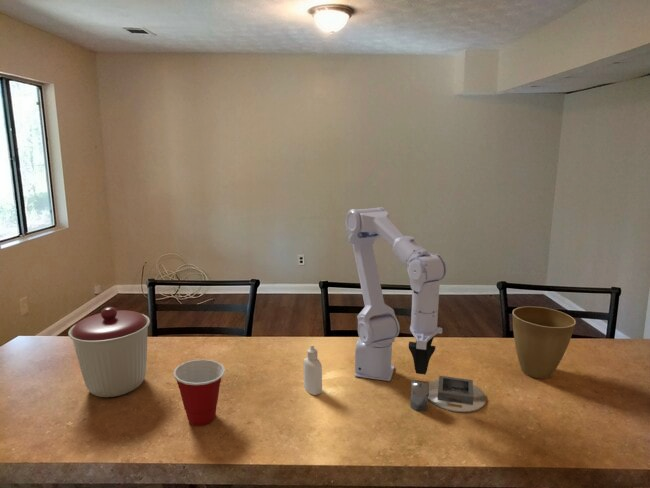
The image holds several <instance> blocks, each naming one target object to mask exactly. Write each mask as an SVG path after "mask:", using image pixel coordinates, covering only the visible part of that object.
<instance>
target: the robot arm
mask: <svg viewBox="0 0 650 488" xmlns="http://www.w3.org/2000/svg"><path fill="white" fill-rule="evenodd" d="M390 219H391V218H390V213H389V212H388V211H387V210H386V208H384V207H382V206H378V207H374V208H371V207H370V208H359V209H355V208H351V209H349V211H348V212H347V214H346V217H345V222H344V224H345V229H346V233H347V238H348V242H349V243H351V245H352V250H353V254H354V255H353V256H354V260H355V266H356V270H357V274H358V278H359V280H358V281H359V283H360V289H361V294H362V298H363V303H364V307H363V308H362V309H361V311H360V312H359V313H358V315H357V316H356V318H357V334H358V337H359V338H358V339H357V341H356V345H355V356H354V357H355V358H354V359H355V360H354V361H355V362H354V365H355V366H354V376H355V377H358V378H366V379H372V380H377V381H378V380H379V381H387V382H391V380H392V377H393V373H394V369H395V365H394V364H393V365H392V357H393V354H392V353H393V343H395V338H397V337H398V336H399V334H400V330H401V329H400V323H399V320H398V319H397V316H396V313H395V310H394V309H393V308H392V307H390V306H389V305H387V304H386V303H385V300H384V295H383V290H382V285H381V280H380V276H379V270H378V266H377V261H376V256H375V252H374V251H375V250H374V247H373V245H374V243H375V242H376V241H377V240H379V239H380V237H381V238H382V239H383V240H385V241H386V242H387V243H388V244H389V245H390V246H391V247H392V253H393V255H394V256H395V257H396V258H397V259H398V260H399V261H400V262H401V263H402V265H403V266H404V267H406V269H407V274H408V279H409V281H410V285H409V286H410V290H411V291H412V292H411V293H412V294H411V296H412V297H411V314H410V319H411V320H410V325H409V331H410V333H411V334H412V335H413V338H414V339H415V341H409V342H408V349H409V352H410V354H411V356H412V358H413V364H414V371H415V373H416V374H418V375H426V373H427V371H428V368H429V364H430V363H429V362H430V360H431V357H432V356H433V354H434V352H435V351H436V345H432V343H433V340H434V338H435V337H436V335H437V334H443V328H442V327H440V326H439V327H438V315H439V302H440V301H439V298H440V284H441V283H440V281H442V280H443V279H444V278H445V277H446V273H447V264H446V261H445V260H444V258H443V257H442V255H440V253H439V254H438V253H431V252H429V251H428V250H426V249H425V248H424V247H423V246H422V245H421V244H420V243H419V242H418V241H417V240H416V238H415V237H414V236H412V235H404V234H402V233H401V231H400V230H399V229H398V228H397V227H396V226H395V224H393V222H392V221H391V220H390ZM375 316H376V317H375Z"/></svg>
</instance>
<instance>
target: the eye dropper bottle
mask: <svg viewBox="0 0 650 488" xmlns="http://www.w3.org/2000/svg"><path fill="white" fill-rule="evenodd" d="M322 368H323V367H322V363H321V361H320V359H319V358H318V349H317V348H315V345H314V344H311V345H310V347H309V348H308V349H307V357H305V358H304V359H303V388H304V389H305V391H306V392H307V393H309V394H310V395H313V396H316V395H317V396H318V395H320V394H322V393H323V369H322Z"/></svg>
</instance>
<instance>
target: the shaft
mask: <svg viewBox="0 0 650 488" xmlns="http://www.w3.org/2000/svg"><path fill="white" fill-rule="evenodd" d="M429 383H430V382H429V381H428V379H425V378H420V377H414V379H412V380H411V381H410V384H411V386H410V408H411V409H412V410H414V411H416V412H426V411H427V410H428V409H429V399H428V397H429Z"/></svg>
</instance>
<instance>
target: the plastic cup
mask: <svg viewBox="0 0 650 488" xmlns="http://www.w3.org/2000/svg"><path fill="white" fill-rule="evenodd" d="M225 372H226V369H225V366H224V365H223V364H222V363H220V362H218V361H216V360H212V359H192V360H189V361H185V362H183V363H180V364H179V365H178V366H176V367H175V369H174V370H173V377H174V379H175V381H176V383H177V385H178V389H179V391H180V396H181V400H182V404H183V408H184V410H185V414H186V417H187V421H188V423H189V424H190V425H192V426H198V427H200V426H201V427H202V426H205V425H206V426H207V425H208V424H210V423H212V422H213V421H214V420H215V417H216V415H217V405H218V402H219V394H220V386H221V383H222V379H223V377H224V374H225Z"/></svg>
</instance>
